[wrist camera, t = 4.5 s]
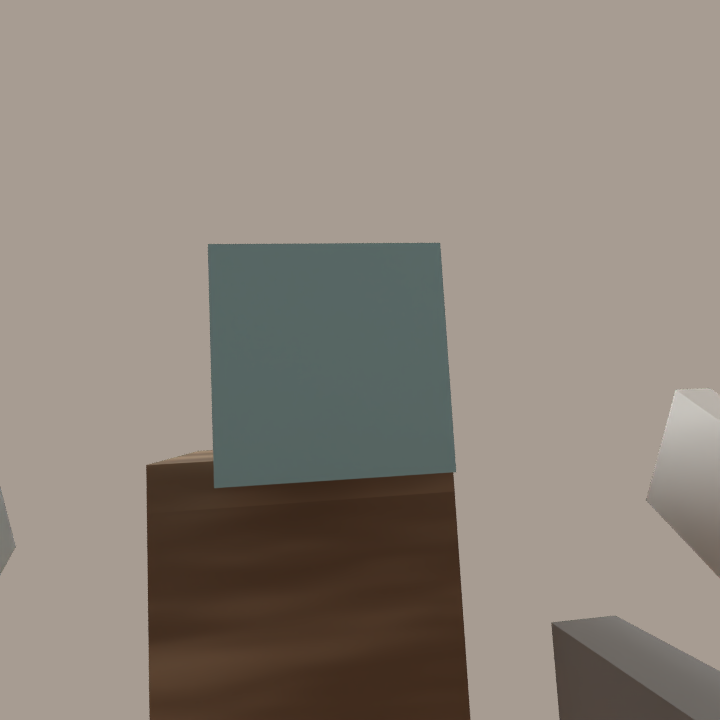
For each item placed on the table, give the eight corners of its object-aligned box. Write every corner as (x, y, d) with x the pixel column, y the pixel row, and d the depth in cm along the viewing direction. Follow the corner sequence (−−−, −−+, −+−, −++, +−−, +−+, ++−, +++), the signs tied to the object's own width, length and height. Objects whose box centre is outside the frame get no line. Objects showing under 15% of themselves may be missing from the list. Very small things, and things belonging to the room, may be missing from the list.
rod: (456, 472, 10) (440, 242, 11) (214, 488, 10) (208, 244, 10) (325, 443, 34) (322, 373, 34) (254, 447, 33) (251, 376, 34)
